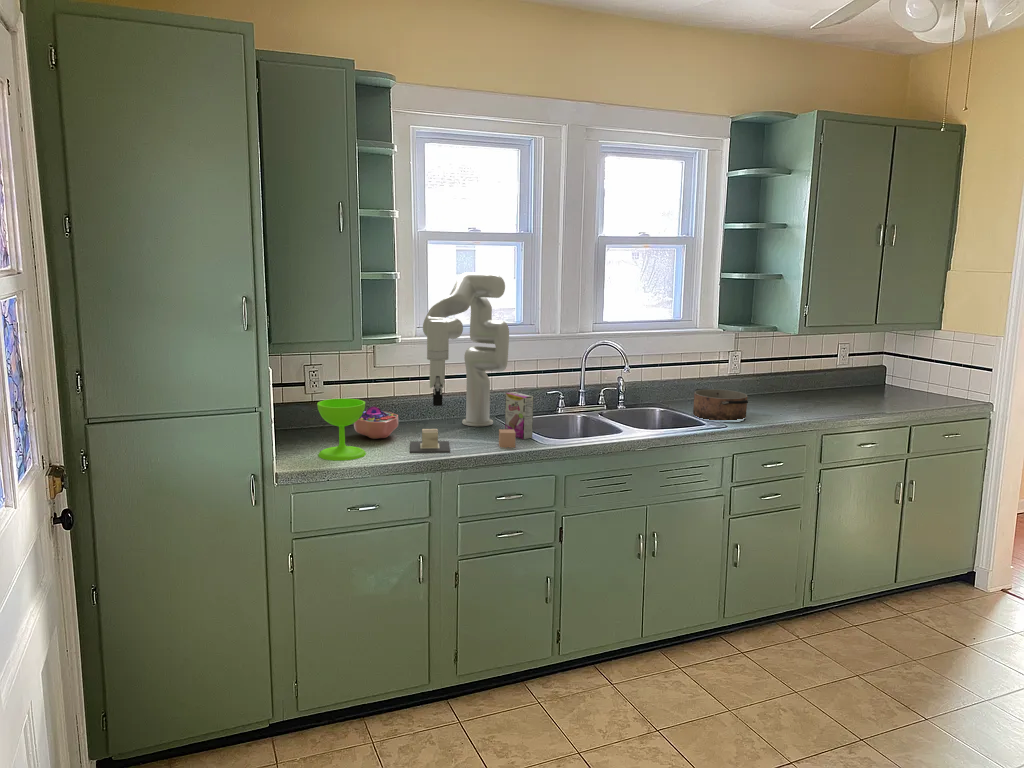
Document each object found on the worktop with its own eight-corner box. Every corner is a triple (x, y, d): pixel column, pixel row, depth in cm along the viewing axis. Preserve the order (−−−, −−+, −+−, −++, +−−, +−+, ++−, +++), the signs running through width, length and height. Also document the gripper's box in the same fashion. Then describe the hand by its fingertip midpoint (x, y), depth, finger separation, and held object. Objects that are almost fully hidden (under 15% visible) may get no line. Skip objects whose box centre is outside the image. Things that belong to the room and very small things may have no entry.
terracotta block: (498, 444, 285) (498, 429, 284) (513, 443, 286) (513, 429, 285) (500, 447, 280) (500, 432, 279) (515, 447, 280) (515, 432, 279)
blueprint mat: (410, 442, 283) (410, 441, 283) (448, 442, 285) (448, 440, 285) (409, 452, 270) (409, 450, 270) (450, 452, 271) (450, 450, 271)
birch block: (422, 443, 280) (422, 428, 279) (437, 443, 280) (437, 428, 279) (422, 447, 274) (422, 432, 273) (437, 447, 275) (437, 432, 274)
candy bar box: (503, 434, 300) (504, 392, 297) (513, 432, 303) (514, 391, 300) (523, 440, 291) (524, 397, 288) (533, 438, 295) (534, 395, 292)
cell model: (355, 445, 279) (354, 414, 277) (350, 432, 298) (349, 403, 296) (402, 442, 284) (401, 412, 282) (394, 430, 302) (394, 401, 300)
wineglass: (357, 446, 277) (357, 397, 274) (372, 457, 263) (371, 405, 260) (313, 451, 269) (311, 400, 266) (325, 462, 255) (324, 409, 252)
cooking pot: (678, 412, 349) (679, 388, 347) (719, 409, 357) (720, 386, 355) (718, 427, 321) (720, 401, 319) (762, 423, 329) (764, 398, 327)
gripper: (427, 351, 280) (427, 398, 283) (426, 358, 263) (426, 408, 266) (448, 351, 281) (447, 398, 284) (448, 358, 264) (448, 408, 267)
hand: (437, 402), depth 275 cm, fingers open, 9 cm apart
